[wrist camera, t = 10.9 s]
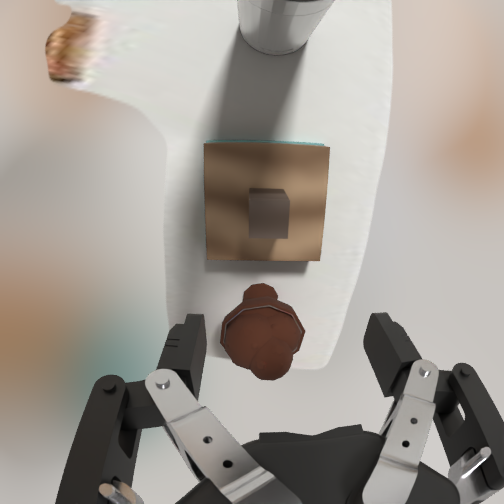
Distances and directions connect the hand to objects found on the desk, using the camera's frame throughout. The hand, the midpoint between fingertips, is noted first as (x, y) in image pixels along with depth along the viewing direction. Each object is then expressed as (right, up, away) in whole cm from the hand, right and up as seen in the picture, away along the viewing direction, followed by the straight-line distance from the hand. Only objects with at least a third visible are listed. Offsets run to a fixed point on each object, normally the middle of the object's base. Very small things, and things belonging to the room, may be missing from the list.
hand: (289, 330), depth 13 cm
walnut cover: (0, +11, +24) cm, 27 cm away
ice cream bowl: (0, -3, +32) cm, 32 cm away
